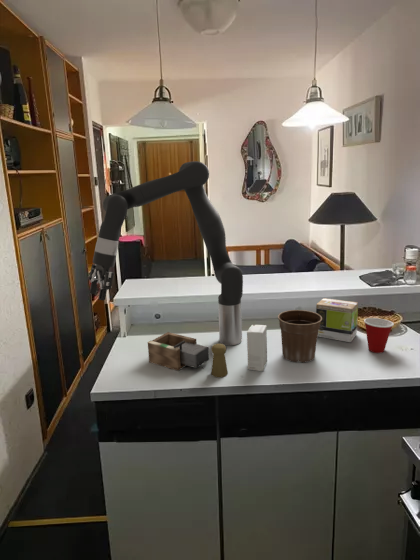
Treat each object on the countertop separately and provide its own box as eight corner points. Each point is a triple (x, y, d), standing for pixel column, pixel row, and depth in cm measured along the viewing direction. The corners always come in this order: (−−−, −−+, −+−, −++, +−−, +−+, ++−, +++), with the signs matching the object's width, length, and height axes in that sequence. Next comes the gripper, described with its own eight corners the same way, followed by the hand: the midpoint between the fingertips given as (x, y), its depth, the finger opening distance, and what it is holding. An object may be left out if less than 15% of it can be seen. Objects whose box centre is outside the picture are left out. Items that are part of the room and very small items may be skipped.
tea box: (356, 334, 182) (359, 301, 178) (350, 343, 174) (352, 309, 170) (322, 328, 190) (323, 296, 186) (314, 336, 182) (315, 303, 178)
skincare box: (263, 371, 153) (263, 333, 149) (246, 369, 155) (246, 331, 151) (267, 361, 161) (267, 324, 157) (251, 359, 162) (251, 323, 158)
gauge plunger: (209, 359, 159) (208, 340, 157) (193, 370, 151) (192, 351, 149) (187, 353, 165) (186, 335, 163) (171, 364, 157) (169, 345, 155)
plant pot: (293, 343, 175) (294, 306, 171) (328, 355, 164) (330, 315, 160) (268, 356, 164) (269, 317, 160) (304, 370, 153) (306, 328, 149)
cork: (226, 377, 150) (225, 349, 147) (209, 376, 151) (208, 348, 148) (229, 369, 155) (228, 341, 152) (212, 368, 157) (211, 341, 154)
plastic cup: (395, 348, 167) (398, 320, 164) (384, 358, 160) (387, 328, 157) (368, 341, 175) (370, 314, 171) (357, 350, 167) (359, 321, 164)
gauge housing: (197, 358, 165) (196, 337, 163) (178, 370, 156) (176, 349, 154) (168, 350, 173) (167, 331, 171) (149, 362, 163) (147, 341, 161)
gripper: (124, 257, 145) (114, 303, 147) (107, 249, 156) (99, 292, 158) (103, 254, 141) (94, 301, 143) (88, 246, 152) (79, 290, 154)
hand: (96, 296), depth 150 cm, fingers open, 8 cm apart
